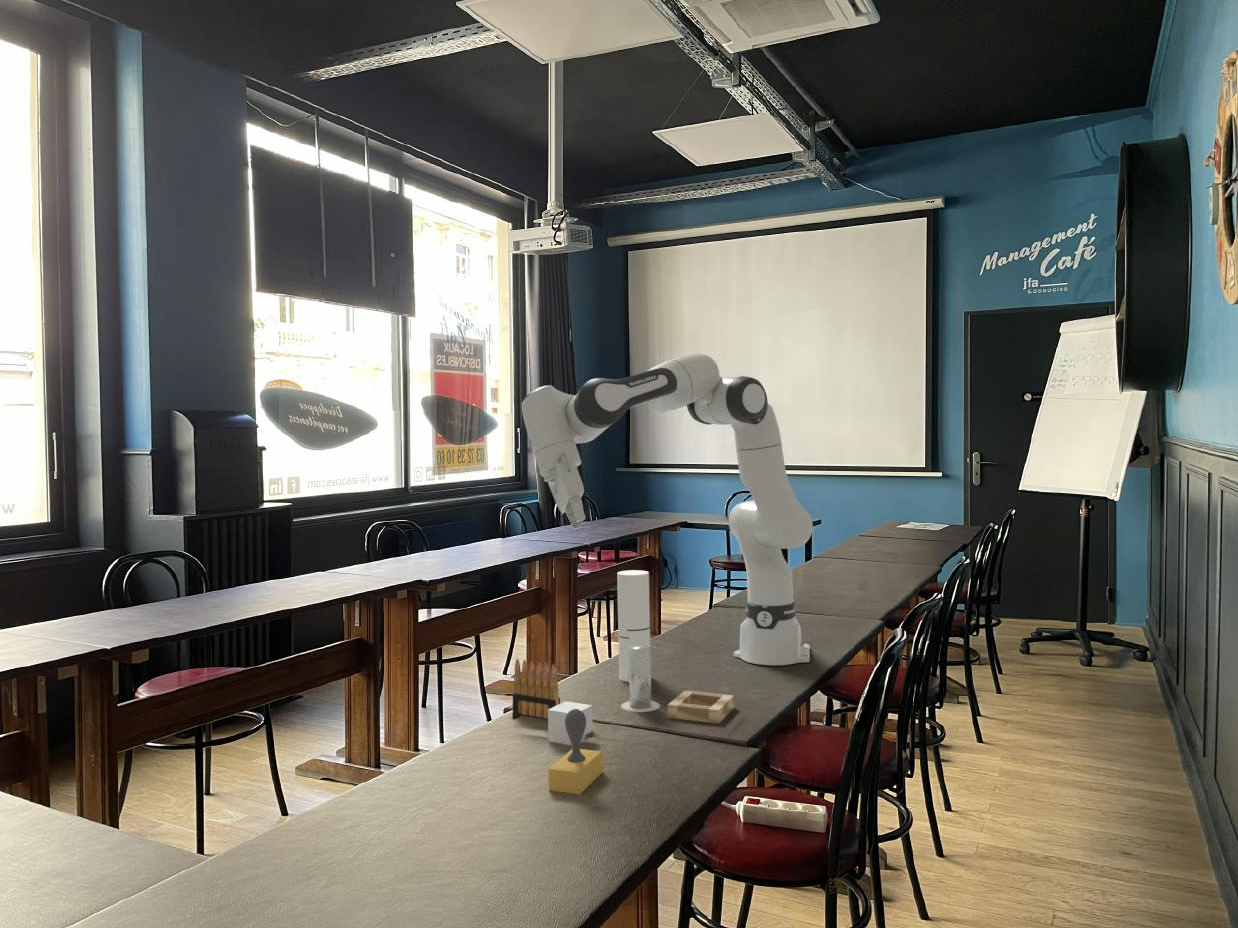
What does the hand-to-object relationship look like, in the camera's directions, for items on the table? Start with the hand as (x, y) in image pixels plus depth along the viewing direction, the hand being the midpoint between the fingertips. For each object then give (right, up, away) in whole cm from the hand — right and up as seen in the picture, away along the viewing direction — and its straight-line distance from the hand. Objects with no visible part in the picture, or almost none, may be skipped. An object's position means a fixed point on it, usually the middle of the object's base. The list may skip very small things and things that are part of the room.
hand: (579, 524), depth 187 cm
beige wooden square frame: (+25, -38, -6) cm, 46 cm away
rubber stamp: (+1, -40, -37) cm, 55 cm away
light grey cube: (-1, -39, -17) cm, 43 cm away
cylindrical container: (+12, -37, +20) cm, 44 cm away
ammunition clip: (-8, -39, -6) cm, 40 cm away
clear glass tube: (+13, -37, -1) cm, 39 cm away
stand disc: (+13, -38, -1) cm, 40 cm away
